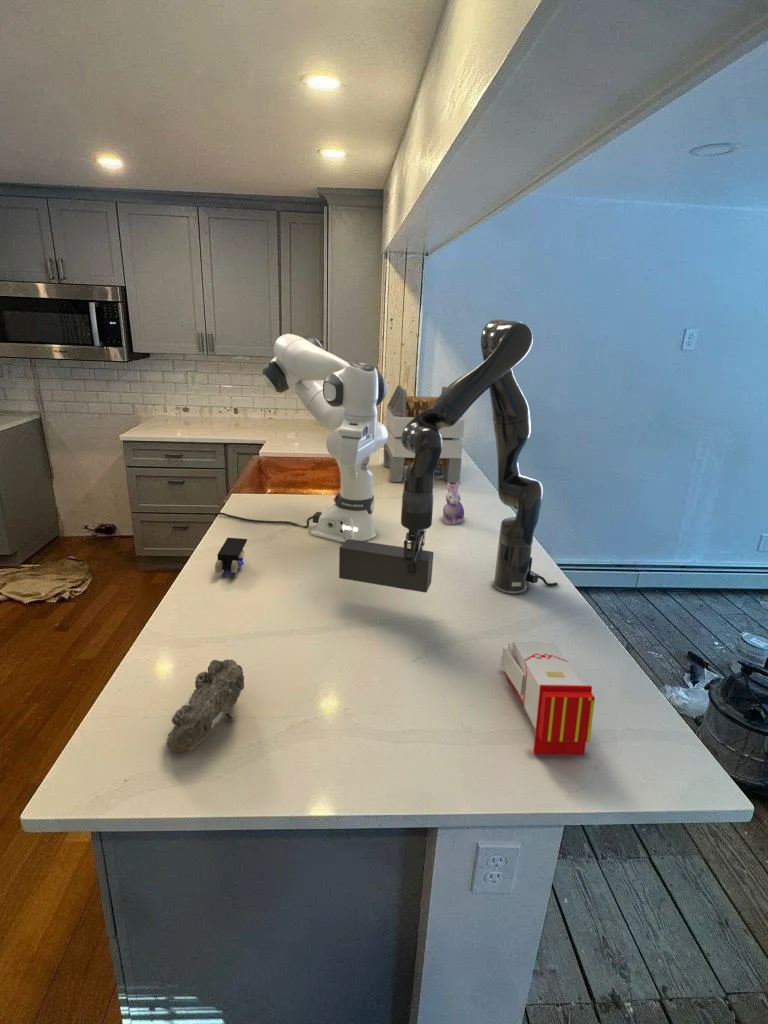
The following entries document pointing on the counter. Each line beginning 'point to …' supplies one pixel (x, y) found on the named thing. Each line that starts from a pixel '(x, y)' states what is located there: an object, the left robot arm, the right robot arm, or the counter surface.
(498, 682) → the counter surface
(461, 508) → the figurine
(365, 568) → the box
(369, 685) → the counter surface
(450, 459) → the transformer
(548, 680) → the toy
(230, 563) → the black wheeled block
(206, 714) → the fossil
